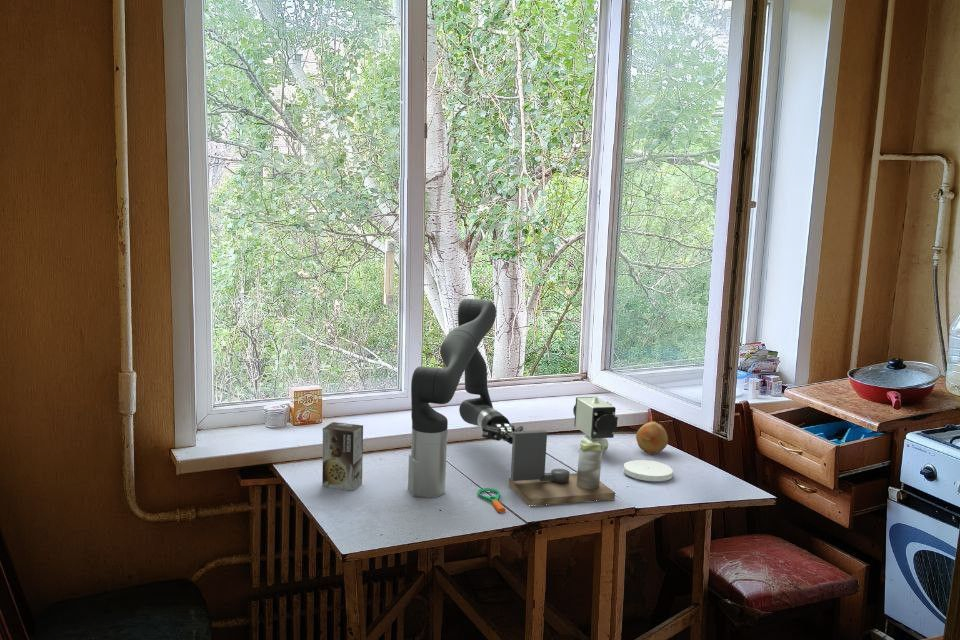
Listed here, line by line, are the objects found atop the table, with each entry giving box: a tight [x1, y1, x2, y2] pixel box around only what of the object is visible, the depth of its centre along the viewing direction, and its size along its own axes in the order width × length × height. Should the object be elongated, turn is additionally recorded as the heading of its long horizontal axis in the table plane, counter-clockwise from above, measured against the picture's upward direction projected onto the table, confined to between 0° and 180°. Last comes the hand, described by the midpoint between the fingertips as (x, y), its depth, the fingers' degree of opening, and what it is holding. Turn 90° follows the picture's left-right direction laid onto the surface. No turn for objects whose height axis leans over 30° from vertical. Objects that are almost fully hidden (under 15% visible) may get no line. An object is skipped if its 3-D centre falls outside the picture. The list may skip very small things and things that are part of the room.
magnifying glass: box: [476, 487, 506, 513], centre depth 200 cm, size 15×6×2 cm, turn 15°
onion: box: [635, 421, 669, 455], centre depth 247 cm, size 10×10×10 cm
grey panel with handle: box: [510, 429, 571, 484], centre depth 209 cm, size 16×5×14 cm, turn 108°
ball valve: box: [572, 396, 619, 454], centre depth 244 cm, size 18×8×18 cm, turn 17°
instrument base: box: [507, 442, 616, 506], centre depth 208 cm, size 24×16×14 cm, turn 108°
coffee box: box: [321, 421, 364, 491], centre depth 205 cm, size 9×6×16 cm
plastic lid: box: [623, 459, 674, 482], centre depth 226 cm, size 14×14×2 cm
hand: (513, 440), depth 214 cm, fingers closed
